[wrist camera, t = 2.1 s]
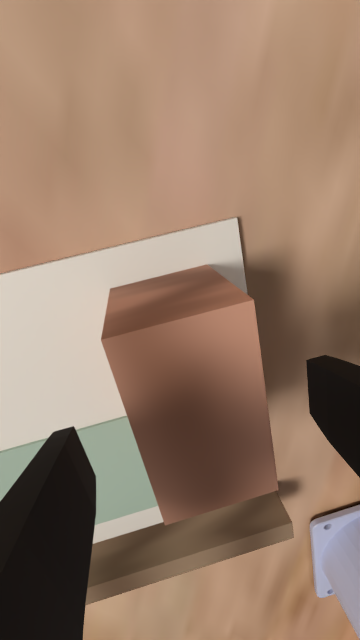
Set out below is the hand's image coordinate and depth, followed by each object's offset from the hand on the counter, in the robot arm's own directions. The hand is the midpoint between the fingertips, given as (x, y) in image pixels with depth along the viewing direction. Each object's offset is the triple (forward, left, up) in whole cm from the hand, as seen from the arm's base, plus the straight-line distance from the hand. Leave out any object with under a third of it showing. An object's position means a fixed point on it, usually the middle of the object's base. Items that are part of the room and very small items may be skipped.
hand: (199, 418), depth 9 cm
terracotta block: (0, 0, -5) cm, 5 cm away
